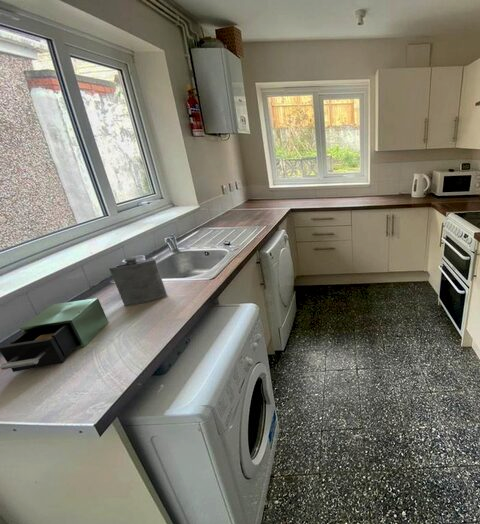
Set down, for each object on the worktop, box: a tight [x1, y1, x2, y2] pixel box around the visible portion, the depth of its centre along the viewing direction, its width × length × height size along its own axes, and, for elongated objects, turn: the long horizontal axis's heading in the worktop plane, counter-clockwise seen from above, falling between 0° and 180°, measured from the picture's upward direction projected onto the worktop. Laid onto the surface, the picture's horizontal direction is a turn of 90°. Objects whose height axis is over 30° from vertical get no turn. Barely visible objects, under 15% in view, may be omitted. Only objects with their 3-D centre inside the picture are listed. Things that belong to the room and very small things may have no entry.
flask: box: [108, 256, 168, 307], centre depth 108 cm, size 4×14×18 cm, turn 116°
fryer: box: [19, 297, 109, 350], centre depth 89 cm, size 14×13×10 cm
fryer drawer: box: [0, 323, 80, 373], centre depth 80 cm, size 17×11×8 cm
